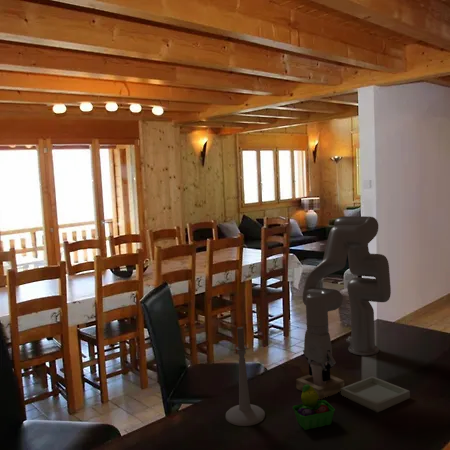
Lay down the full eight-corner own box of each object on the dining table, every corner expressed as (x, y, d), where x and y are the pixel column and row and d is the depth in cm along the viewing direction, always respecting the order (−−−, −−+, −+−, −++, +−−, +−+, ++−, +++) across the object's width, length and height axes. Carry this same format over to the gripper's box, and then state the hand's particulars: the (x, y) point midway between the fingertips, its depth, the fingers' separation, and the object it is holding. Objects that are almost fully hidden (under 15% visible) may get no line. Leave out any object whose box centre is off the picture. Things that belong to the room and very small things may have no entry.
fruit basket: (302, 433, 148) (300, 397, 147) (290, 419, 157) (289, 385, 156) (336, 426, 151) (335, 390, 150) (323, 413, 160) (322, 379, 159)
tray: (340, 395, 171) (340, 388, 171) (372, 382, 180) (372, 376, 179) (377, 412, 158) (377, 405, 157) (409, 397, 166) (409, 390, 166)
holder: (296, 388, 179) (296, 379, 178) (321, 379, 185) (320, 370, 185) (319, 400, 169) (319, 390, 168) (344, 390, 175) (344, 380, 175)
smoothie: (308, 391, 176) (307, 353, 174) (314, 384, 181) (312, 347, 180) (326, 394, 173) (324, 355, 171) (331, 387, 178) (330, 349, 177)
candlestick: (262, 426, 153) (257, 332, 150) (222, 425, 156) (216, 332, 153) (267, 407, 166) (262, 320, 163) (229, 406, 168) (224, 320, 165)
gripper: (293, 325, 180) (295, 372, 182) (327, 336, 165) (329, 388, 167) (309, 320, 184) (311, 367, 186) (343, 331, 169) (345, 382, 171)
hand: (319, 376), depth 176 cm, fingers closed on smoothie, 6 cm apart
